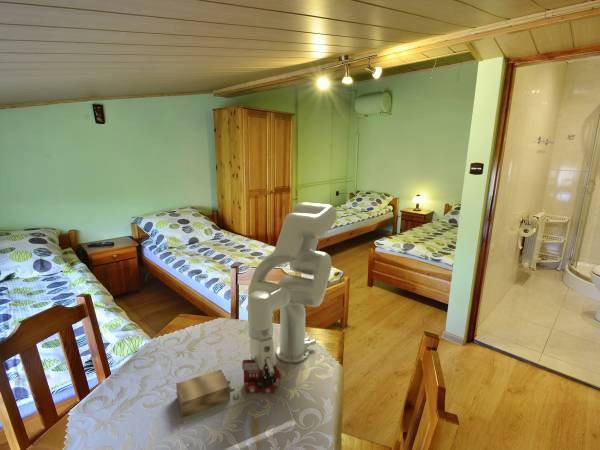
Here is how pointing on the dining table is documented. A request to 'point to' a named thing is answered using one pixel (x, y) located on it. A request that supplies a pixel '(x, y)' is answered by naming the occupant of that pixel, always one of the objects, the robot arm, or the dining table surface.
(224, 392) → the base brick
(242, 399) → the build plate
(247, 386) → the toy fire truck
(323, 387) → the dining table surface
